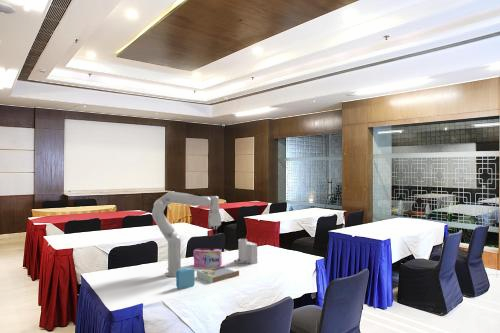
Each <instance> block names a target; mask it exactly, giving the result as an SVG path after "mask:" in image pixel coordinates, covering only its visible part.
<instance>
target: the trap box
mask: <svg viewBox="0 0 500 333" xmlns="http://www.w3.org/2000/svg"><path fill="white" fill-rule="evenodd" d="M207 270H213V271H215V276H214V277H212V276H211V275H209V274H206V273H204V271H207ZM239 276H240V270H232V269H229V268H226V265H221V266H220V267H212V268H210V269H205V270H201V271H200V270H198V269H197V270H196V278H198V279H200V280H202V281H205V282H207V283H210V284H214V283H216V282H219V281H220V282H221V281H224V280H228V279H231V278H234V277H239Z"/></svg>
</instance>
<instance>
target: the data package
mask: <svg viewBox="0 0 500 333" xmlns="http://www.w3.org/2000/svg"><path fill="white" fill-rule="evenodd" d="M195 274H196V273H195V269H194V268H192V267H186V268H183V269H182V268H181V270H178V271H177V272H176V277H175V278H176V279H175V280H176V283H175V286H176V288H178V289H179V290H183V289H187V288H191V287H194V286H195V284H196V283H195V282H196V280H195V279H196V278H195Z"/></svg>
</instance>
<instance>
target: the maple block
mask: <svg viewBox="0 0 500 333" xmlns="http://www.w3.org/2000/svg"><path fill="white" fill-rule="evenodd" d="M206 270H207V271H205V270H203V271H204V273H206V274H209V275H211V276H212V277H214V276H215V271H213V270H209V269H206Z"/></svg>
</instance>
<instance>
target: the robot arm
mask: <svg viewBox="0 0 500 333" xmlns="http://www.w3.org/2000/svg"><path fill="white" fill-rule="evenodd" d="M170 204H179V205H180V204H182V205H189V206H198V207H209V210H208V222H207V223H208V224H207V225H208V228H211V229H212V235H217V230H218V228H219V227H221V225H222V217H221V213H220V197H219V196H217V195H214V196H213V195H210V196H207V195H203V196H201V195H200V196H199V195H195V194H192V193H191V194H190V193H186V192H179V191H178V192H177V191H172V190H170V191H168V192H167V193H165V194H163V195H162V196H161V197H159V198H158V199H156V200H155V202H153V208H152V211H151V216H152V219H153V221H154V222H155V224H156V225H157V228H158V229H159V231H160V233H161V234H162V236H164V238H165V241H166V242H167V268H166V270H167V272H166V275H165V276H167V277H169V278H176V272H177V271H178V270H182V268H181V266H182V264H181V262H182V260H181V259H182V258H181V257H182V256H181V255H182V254H181V244H182V243H181V242H182V240H181V237H180V236H179V234H178V233H177V231H176V230H175V228H174V227H173V225H172V223H171V222H170V221H169V220H168V219H167V217H166V215H165V214H164V213H165V212H164V211H165V209H166V207H167V206H169V205H170Z"/></svg>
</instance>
